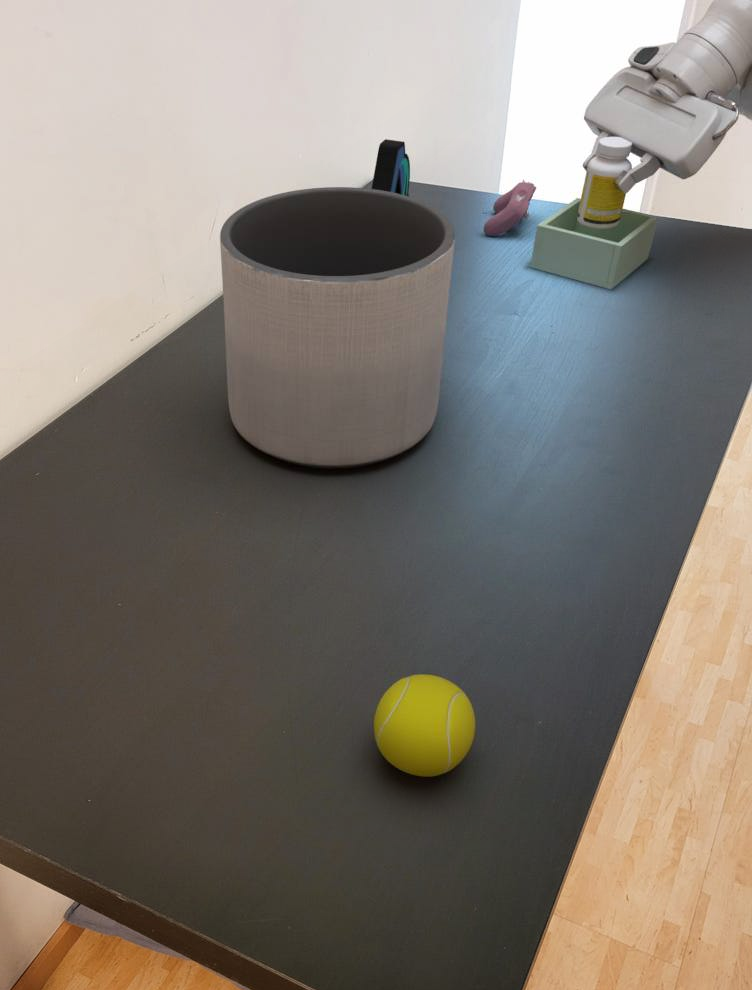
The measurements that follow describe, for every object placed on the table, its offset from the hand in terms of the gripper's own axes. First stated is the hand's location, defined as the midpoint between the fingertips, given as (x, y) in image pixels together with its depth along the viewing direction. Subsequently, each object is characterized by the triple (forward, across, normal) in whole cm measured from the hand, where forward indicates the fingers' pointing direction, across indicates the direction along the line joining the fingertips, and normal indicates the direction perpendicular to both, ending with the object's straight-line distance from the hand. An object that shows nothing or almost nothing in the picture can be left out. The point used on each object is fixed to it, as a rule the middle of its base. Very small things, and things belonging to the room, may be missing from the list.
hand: (602, 179), depth 119 cm
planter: (+41, -22, +25) cm, 53 cm away
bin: (+7, 0, -8) cm, 11 cm away
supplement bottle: (+4, 0, -4) cm, 6 cm away
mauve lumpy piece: (+10, +15, -6) cm, 19 cm away
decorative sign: (+25, +12, +9) cm, 29 cm away
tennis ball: (+49, -67, +34) cm, 90 cm away
